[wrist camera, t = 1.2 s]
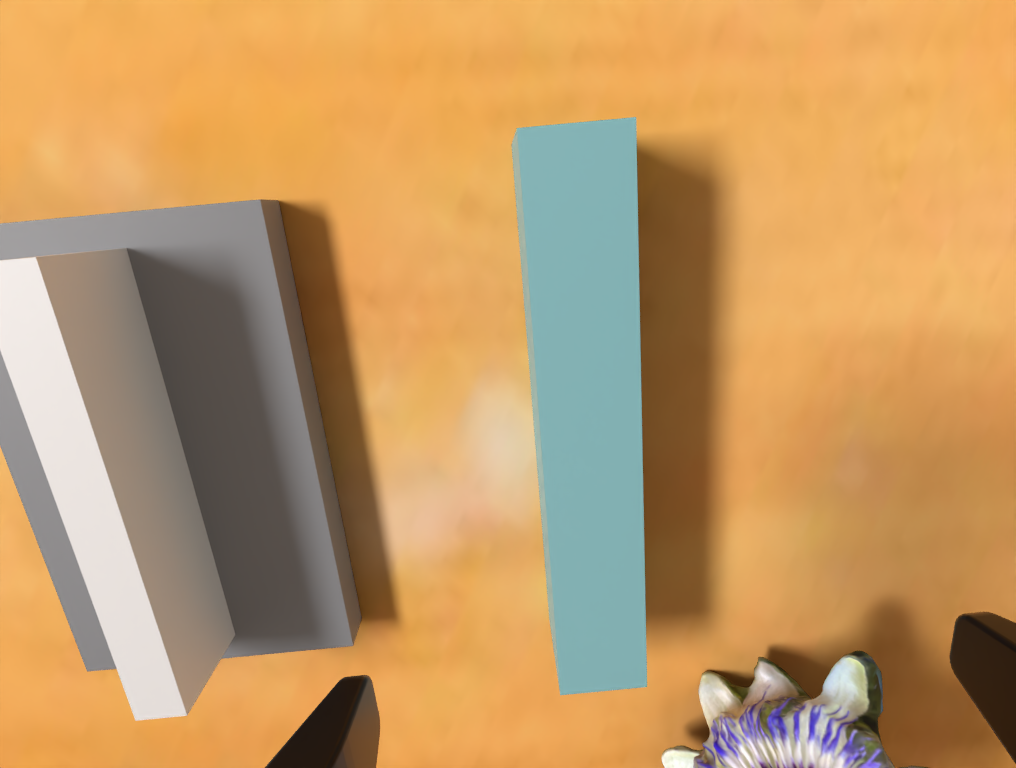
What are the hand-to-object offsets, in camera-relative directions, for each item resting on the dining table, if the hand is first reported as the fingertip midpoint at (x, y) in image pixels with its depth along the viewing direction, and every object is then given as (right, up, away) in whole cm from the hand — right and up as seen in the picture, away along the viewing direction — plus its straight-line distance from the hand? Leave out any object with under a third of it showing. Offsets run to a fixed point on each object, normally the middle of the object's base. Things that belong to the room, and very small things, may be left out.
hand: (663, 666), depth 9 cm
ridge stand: (-14, +2, +12) cm, 18 cm away
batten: (0, +4, +12) cm, 13 cm away
